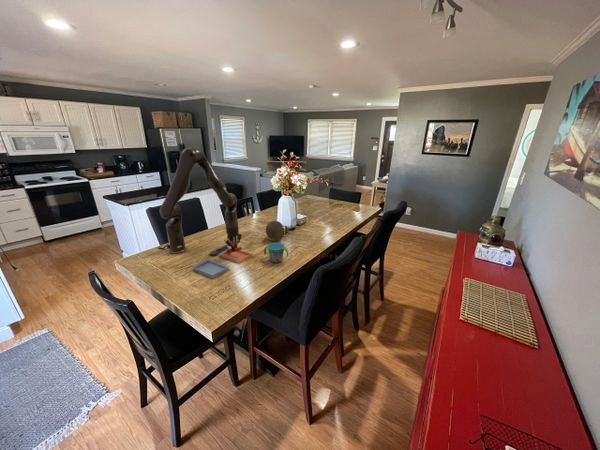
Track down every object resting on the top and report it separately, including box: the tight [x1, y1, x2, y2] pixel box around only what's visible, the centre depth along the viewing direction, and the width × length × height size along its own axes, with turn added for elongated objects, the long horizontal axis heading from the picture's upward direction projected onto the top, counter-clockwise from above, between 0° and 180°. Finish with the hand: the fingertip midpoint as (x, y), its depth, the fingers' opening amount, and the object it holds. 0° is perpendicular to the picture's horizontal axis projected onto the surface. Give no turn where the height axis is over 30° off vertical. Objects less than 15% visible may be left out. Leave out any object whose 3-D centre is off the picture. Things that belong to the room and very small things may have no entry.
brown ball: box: [265, 220, 285, 242], centre depth 179 cm, size 14×14×15 cm
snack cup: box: [263, 242, 289, 264], centre depth 150 cm, size 16×10×10 cm
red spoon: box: [226, 246, 243, 254], centre depth 155 cm, size 13×5×3 cm, turn 58°
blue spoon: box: [209, 244, 229, 257], centre depth 162 cm, size 13×5×3 cm, turn 148°
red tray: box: [219, 250, 253, 264], centre depth 156 cm, size 17×11×2 cm, turn 58°
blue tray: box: [192, 259, 229, 279], centre depth 140 cm, size 17×11×2 cm, turn 58°
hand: (234, 250), depth 155 cm, fingers closed on red spoon, 1 cm apart
